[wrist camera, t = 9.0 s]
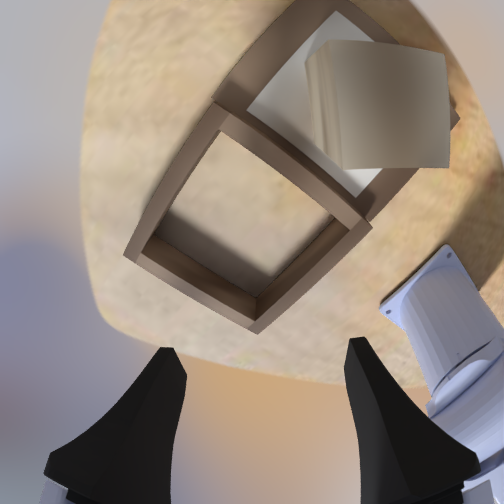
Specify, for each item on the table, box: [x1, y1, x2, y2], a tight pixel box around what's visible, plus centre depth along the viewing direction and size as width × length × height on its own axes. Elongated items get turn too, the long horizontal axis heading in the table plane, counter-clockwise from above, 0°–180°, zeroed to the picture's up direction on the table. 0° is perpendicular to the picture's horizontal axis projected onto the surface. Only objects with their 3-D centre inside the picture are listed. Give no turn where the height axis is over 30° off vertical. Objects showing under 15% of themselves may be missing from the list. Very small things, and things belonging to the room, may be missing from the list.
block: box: [304, 39, 450, 170], centre depth 10 cm, size 5×5×6 cm
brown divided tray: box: [123, 0, 460, 335], centre depth 15 cm, size 12×21×2 cm, turn 143°
